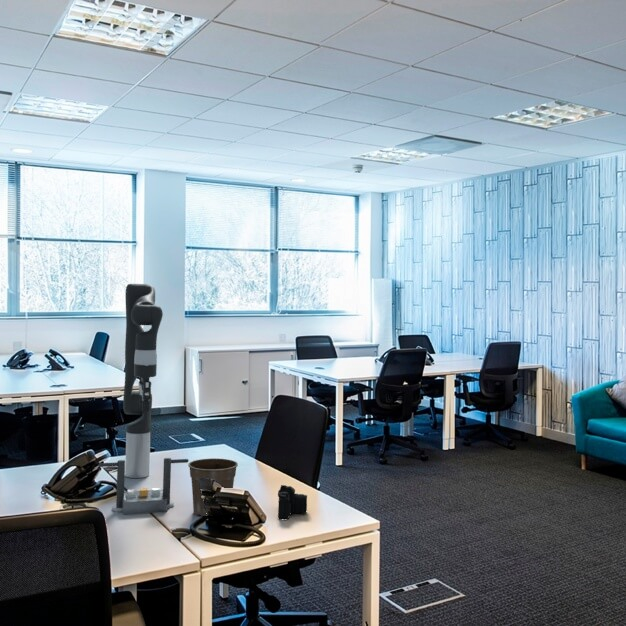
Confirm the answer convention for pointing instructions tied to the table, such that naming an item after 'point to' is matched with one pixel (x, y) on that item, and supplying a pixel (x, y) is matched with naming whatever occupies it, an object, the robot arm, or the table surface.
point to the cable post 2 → (169, 477)
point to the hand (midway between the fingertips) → (144, 409)
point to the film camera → (290, 502)
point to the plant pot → (210, 477)
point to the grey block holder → (144, 502)
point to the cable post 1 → (118, 482)
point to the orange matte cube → (143, 492)
